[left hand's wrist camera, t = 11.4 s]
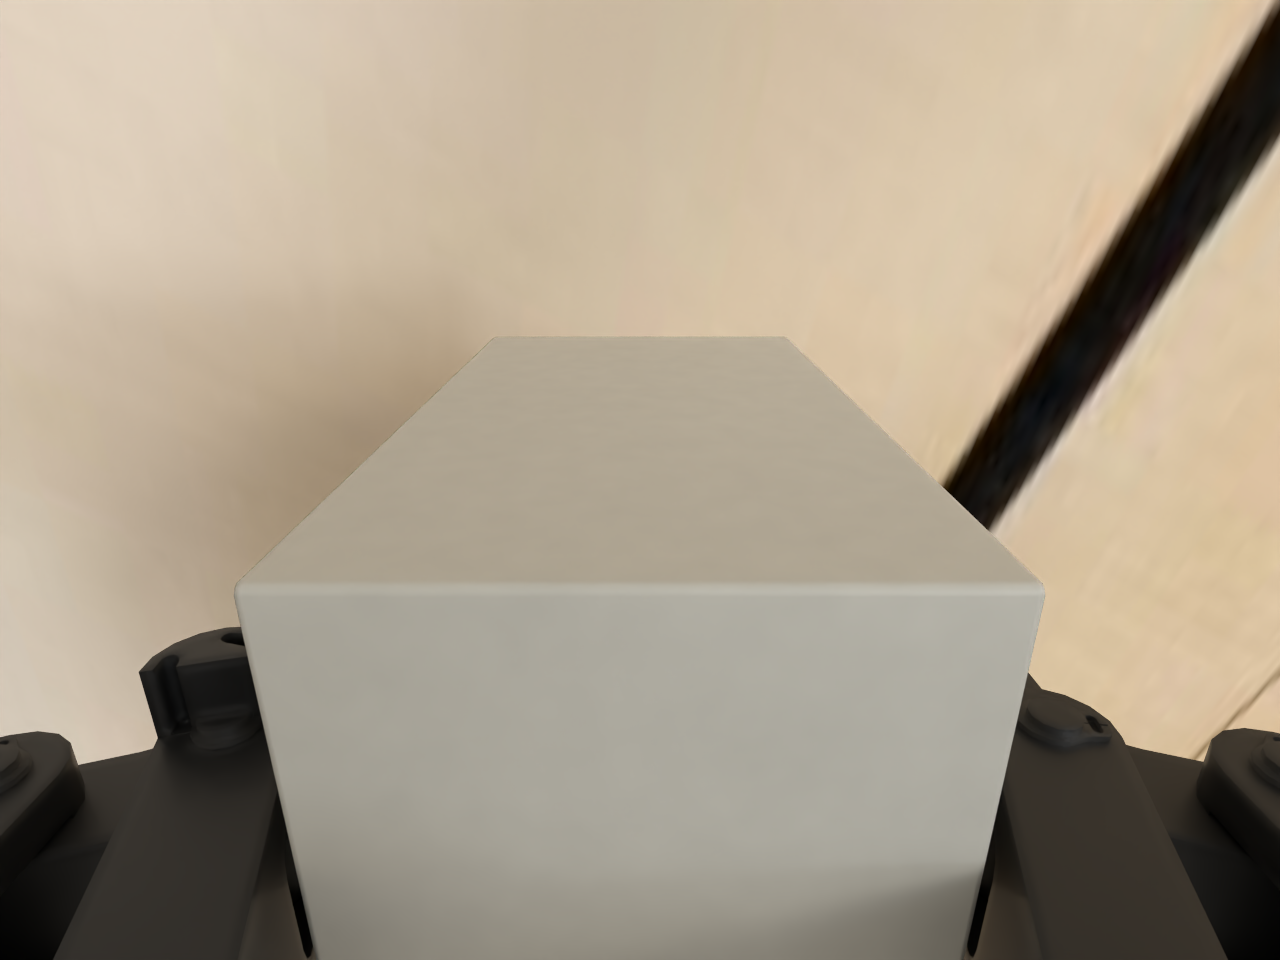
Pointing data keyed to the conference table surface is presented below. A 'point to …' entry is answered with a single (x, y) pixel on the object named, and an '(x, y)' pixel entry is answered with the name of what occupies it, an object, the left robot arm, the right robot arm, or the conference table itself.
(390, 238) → the conference table surface
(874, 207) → the conference table surface
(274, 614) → the bar
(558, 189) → the conference table surface
